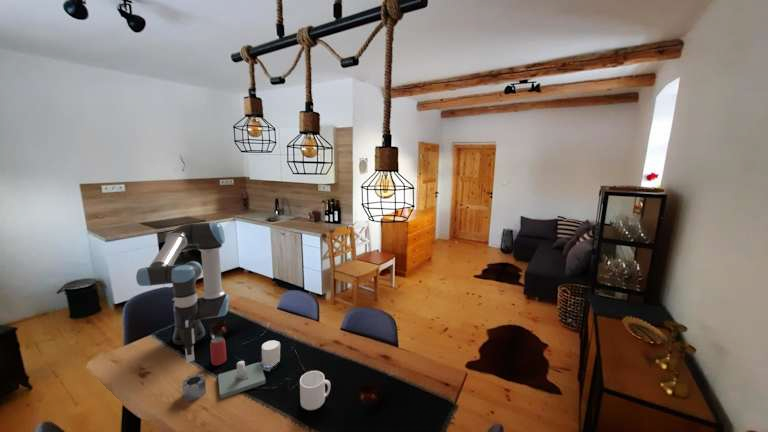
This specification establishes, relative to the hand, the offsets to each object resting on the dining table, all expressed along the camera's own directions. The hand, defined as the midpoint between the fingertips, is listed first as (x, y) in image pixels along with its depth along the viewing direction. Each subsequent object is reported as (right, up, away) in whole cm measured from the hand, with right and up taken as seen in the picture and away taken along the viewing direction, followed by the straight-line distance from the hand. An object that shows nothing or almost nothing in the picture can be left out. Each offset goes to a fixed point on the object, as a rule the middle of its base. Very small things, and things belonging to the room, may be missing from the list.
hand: (190, 351), depth 125 cm
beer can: (-1, -16, +24) cm, 29 cm away
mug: (+52, -21, +1) cm, 56 cm away
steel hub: (0, -19, +4) cm, 20 cm away
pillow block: (+16, -18, +11) cm, 27 cm away
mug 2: (+25, -16, +26) cm, 39 cm away
